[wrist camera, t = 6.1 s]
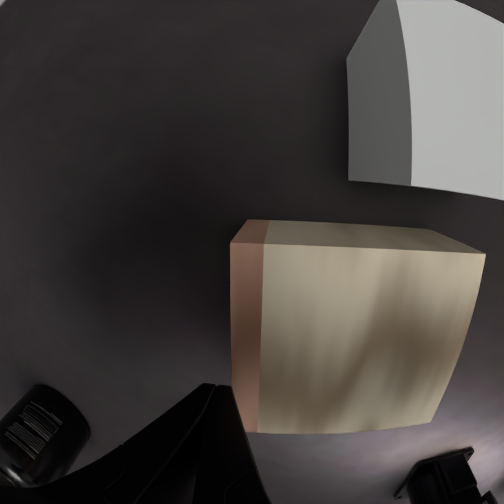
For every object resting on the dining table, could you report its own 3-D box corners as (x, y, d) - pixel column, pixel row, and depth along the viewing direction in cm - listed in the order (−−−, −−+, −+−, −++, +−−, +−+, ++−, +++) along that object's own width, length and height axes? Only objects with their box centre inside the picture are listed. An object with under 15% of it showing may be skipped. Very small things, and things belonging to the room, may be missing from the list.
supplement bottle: (23, 389, 19) (-47, 461, 8) (53, 376, 18) (-34, 469, 6) (68, 441, 21) (13, 520, 9) (106, 438, 19) (45, 539, 8)
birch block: (246, 365, 16) (400, 365, 15) (233, 430, 11) (430, 422, 10) (247, 219, 14) (428, 228, 13) (230, 242, 9) (485, 254, 8)
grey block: (455, 192, 12) (552, 210, 6) (347, 180, 13) (411, 185, 6) (452, 81, 11) (536, 43, 4) (346, 59, 11) (391, -21, 5)
